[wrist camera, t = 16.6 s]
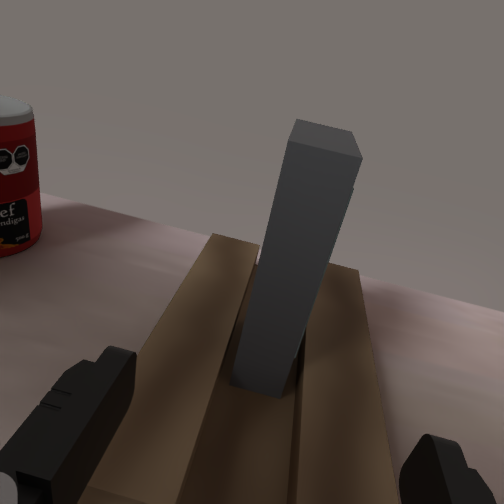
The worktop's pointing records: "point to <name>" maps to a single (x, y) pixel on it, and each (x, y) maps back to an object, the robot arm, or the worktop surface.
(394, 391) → the worktop surface
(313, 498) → the brown grooved block
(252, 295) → the grey rectangular block
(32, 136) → the canned food
